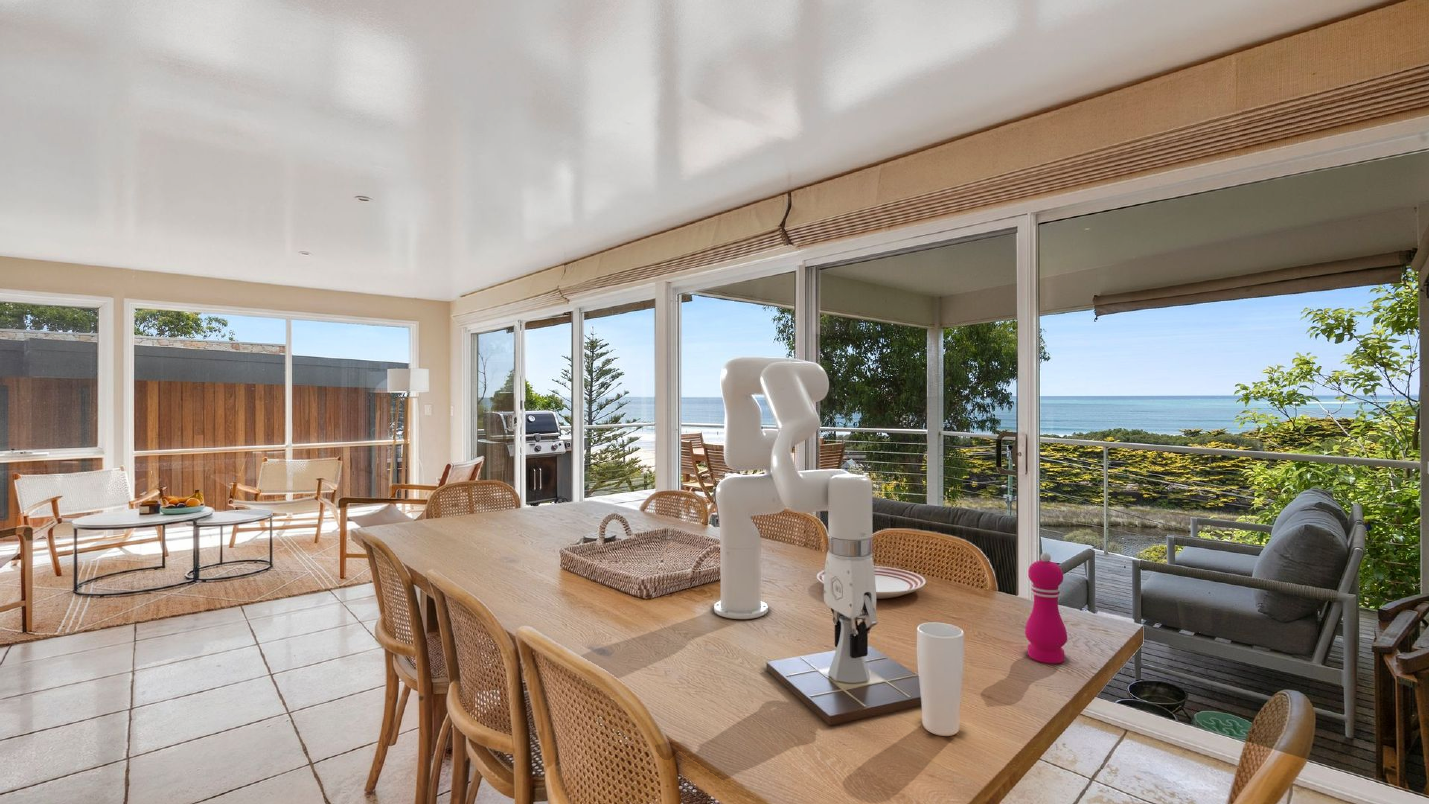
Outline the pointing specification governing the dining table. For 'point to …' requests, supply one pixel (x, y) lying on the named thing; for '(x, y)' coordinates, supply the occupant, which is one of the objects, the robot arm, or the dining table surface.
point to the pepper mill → (1045, 613)
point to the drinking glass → (940, 676)
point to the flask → (847, 658)
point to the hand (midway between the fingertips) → (850, 650)
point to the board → (848, 686)
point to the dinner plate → (891, 581)
